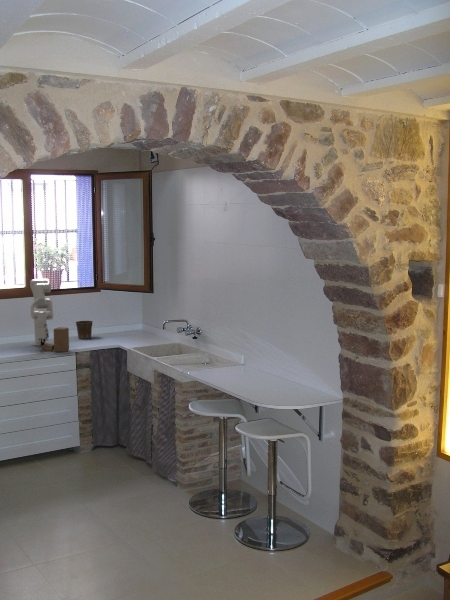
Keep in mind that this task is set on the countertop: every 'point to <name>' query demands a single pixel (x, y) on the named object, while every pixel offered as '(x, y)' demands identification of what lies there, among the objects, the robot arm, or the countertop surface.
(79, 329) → the plant pot
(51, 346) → the walnut block
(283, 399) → the countertop surface
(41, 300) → the robot arm
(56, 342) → the wooden block
